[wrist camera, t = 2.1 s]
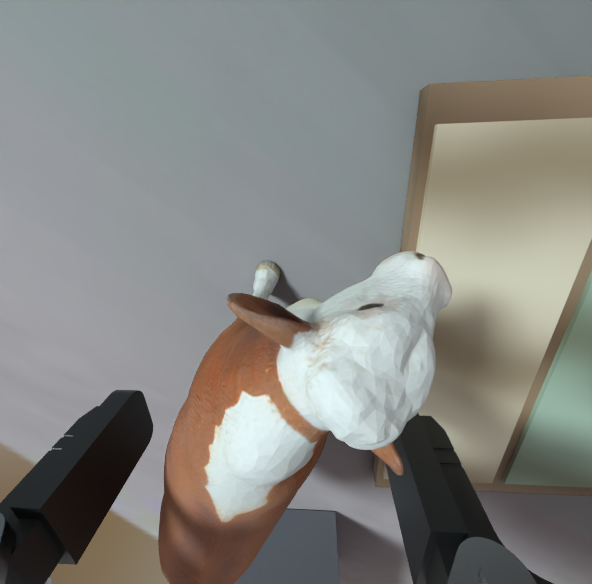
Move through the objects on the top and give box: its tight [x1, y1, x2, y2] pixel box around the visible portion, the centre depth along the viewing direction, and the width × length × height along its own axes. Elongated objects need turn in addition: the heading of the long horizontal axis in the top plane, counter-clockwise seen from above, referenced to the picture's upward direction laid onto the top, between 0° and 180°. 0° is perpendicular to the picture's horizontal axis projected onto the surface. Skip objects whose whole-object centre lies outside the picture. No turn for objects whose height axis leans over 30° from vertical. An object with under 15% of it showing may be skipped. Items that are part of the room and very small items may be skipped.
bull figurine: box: [158, 251, 452, 584], centre depth 9 cm, size 4×13×8 cm, turn 155°
